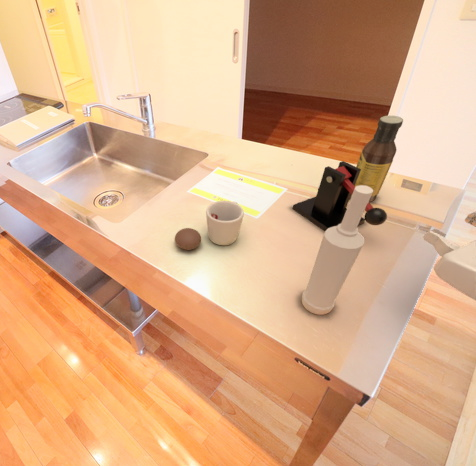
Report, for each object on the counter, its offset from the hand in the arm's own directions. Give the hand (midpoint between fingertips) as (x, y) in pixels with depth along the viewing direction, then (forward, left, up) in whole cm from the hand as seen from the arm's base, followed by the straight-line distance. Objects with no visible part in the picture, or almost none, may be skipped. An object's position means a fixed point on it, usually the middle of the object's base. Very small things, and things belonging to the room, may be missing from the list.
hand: (449, 224), depth 53 cm
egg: (+40, +18, -12) cm, 45 cm away
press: (+19, -9, -12) cm, 24 cm away
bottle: (+12, +18, -12) cm, 24 cm away
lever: (+15, -7, -5) cm, 17 cm away
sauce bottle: (+15, -21, -12) cm, 29 cm away
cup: (+35, +10, -12) cm, 38 cm away
